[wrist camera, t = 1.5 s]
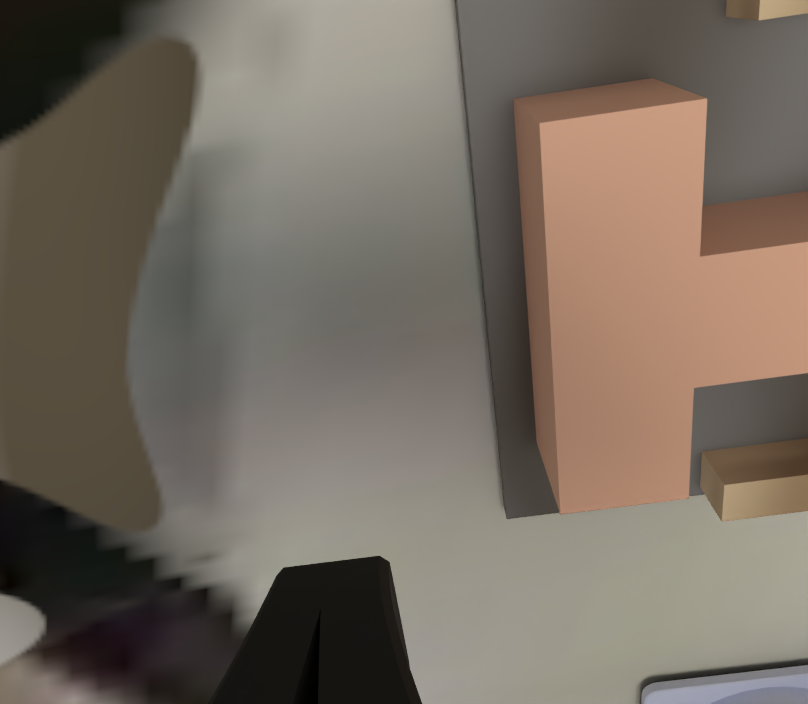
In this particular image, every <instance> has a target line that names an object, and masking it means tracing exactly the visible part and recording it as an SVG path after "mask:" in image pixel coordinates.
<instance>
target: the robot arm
mask: <svg viewBox="0 0 808 704" xmlns="http://www.w3.org/2000/svg"><path fill="white" fill-rule="evenodd" d="M208 704H422V702H421V699H420V696H419V694H418V691H417V688H416V685H415V682H414V679H413V676H412V674H411V671H410V667H409V659H408V654H407V649H406V644H405V639H404V634H403V629H402V624H401V618H400V613H399V608H398V603H397V598H396V593H395V588H394V582H393V577H392V572H391V567H390V562H389V561H387V560H385V559H384V558H382V557H381V556H374V557H366V558H358V559H350V560H342V561H334V562H326V563H318V564H310V565H301V566H293V567H285V568H283V569H282V570H281V571H280V572H279V574H278V575H277V576H276V578H275V580H274V582H273V584H272V586H271V588H270V590H269V592H268V594H267V596H266V598H265V600H264V602H263V604H262V606H261V608H260V610H259V612H258V614H257V616H256V618H255V620H254V622H253V624H252V626H251V628H250V630H249V632H248V634H247V635H246V637H245V639H244V641H243V643H242V645H241V647H240V648H239V650H238V652H237V654H236V656H235V658H234V660H233V661H232V663H231V665H230V667H229V669H228V670H227V672H226V674H225V675H224V677H223V679H222V681H221V682H220V684H219V686H218V688H217V689H216V691H215V693H214V695H213V696H212V698H211V700H210V701H209V703H208ZM641 704H808V665H803V666H794V667H785V668H777V669H768V670H759V671H750V672H742V673H733V674H724V675H716V676H707V677H698V678H690V679H681V680H672V681H664V682H655V683H651V684H649V685H648V686H646V687H645V688H644V689H643V691H642V697H641Z"/></svg>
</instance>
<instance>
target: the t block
mask: <svg viewBox="0 0 808 704" xmlns="http://www.w3.org/2000/svg"><path fill="white" fill-rule="evenodd" d="M513 102H514V117H515V132H516V146H517V161H518V176H519V190H520V205H521V220H522V234H523V249H524V264H525V278H526V293H527V307H528V322H529V337H530V351H531V366H532V381H533V395H534V410H535V425H536V439H537V445H538V448H539V451H540V454H541V457H542V460H543V463H544V466H545V469H546V472H547V475H548V478H549V481H550V485H551V488H552V491H553V494H554V497H555V500H556V503H557V506H558V509H559V512H560V514H568V513H576V512H584V511H592V510H600V509H608V508H616V507H624V506H632V505H640V504H648V503H656V502H664V501H672V500H680V499H688V498H689V482H690V461H691V439H692V418H693V396H694V388H697V387H705V386H712V385H720V384H728V383H735V382H743V381H751V380H758V379H766V378H773V377H781V376H789V375H796V374H804V373H808V191H806V192H799V193H792V194H784V195H777V196H770V197H763V198H756V199H749V200H742V201H735V202H728V203H721V204H714V205H706V206H702V203H703V181H704V160H705V138H706V117H707V98H705V97H702V96H699V95H697V94H694V93H691V92H688V91H686V90H683V89H680V88H678V87H675V86H672V85H670V84H667V83H664V82H661V81H659V80H656V79H653V78H651V79H644V80H637V81H630V82H624V83H617V84H610V85H603V86H597V87H590V88H583V89H576V90H570V91H563V92H556V93H549V94H543V95H536V96H529V97H522V98H516V99H513Z"/></svg>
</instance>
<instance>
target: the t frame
mask: <svg viewBox="0 0 808 704" xmlns="http://www.w3.org/2000/svg"><path fill="white" fill-rule="evenodd" d="M455 4H456V14H457V24H458V35H459V45H460V55H461V66H462V76H463V86H464V97H465V107H466V117H467V128H468V138H469V148H470V159H471V169H472V179H473V189H474V200H475V210H476V220H477V231H478V241H479V251H480V262H481V272H482V282H483V293H484V303H485V313H486V324H487V334H488V344H489V355H490V365H491V375H492V385H493V396H494V406H495V416H496V427H497V437H498V447H499V458H500V468H501V478H502V489H503V499H504V509H505V513H506V517H507V519H511V518H519V517H527V516H535V515H543V514H551V513H559V509H558V506H557V503H556V500H555V497H554V494H553V491H552V488H551V485H550V481H549V478H548V475H547V472H546V469H545V466H544V463H543V460H542V457H541V454H540V451H539V448H538V445H537V439H536V425H535V410H534V395H533V381H532V366H531V351H530V337H529V322H528V307H527V293H526V278H525V264H524V249H523V234H522V220H521V205H520V190H519V176H518V161H517V146H516V132H515V117H514V102H513V99H516V98H522V97H529V96H536V95H543V94H549V93H556V92H563V91H570V90H576V89H583V88H590V87H597V86H603V85H610V84H617V83H624V82H630V81H637V80H644V79H651V78H653V79H656V80H659V81H661V82H664V83H667V84H670V85H672V86H675V87H678V88H680V89H683V90H686V91H688V92H691V93H694V94H697V95H699V96H702V97H705V98H707V117H706V138H705V160H704V181H703V203H702V206H706V205H714V204H721V203H728V202H735V201H742V200H749V199H756V198H763V197H770V196H777V195H784V194H792V193H799V192H806V191H808V0H455ZM703 494H705V495H706V497H707V498H708V500H709V502H710V503H711V505H712V507H713V508H714V510H715V511H716V513H717V515H718V516H719V518H720V519H721V521H730V520H738V519H746V518H754V517H762V516H770V515H778V514H786V513H794V512H803V511H808V373H804V374H796V375H789V376H781V377H773V378H766V379H758V380H751V381H743V382H735V383H728V384H720V385H712V386H705V387H697V388H694V396H693V418H692V439H691V461H690V482H689V496H695V495H703Z"/></svg>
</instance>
